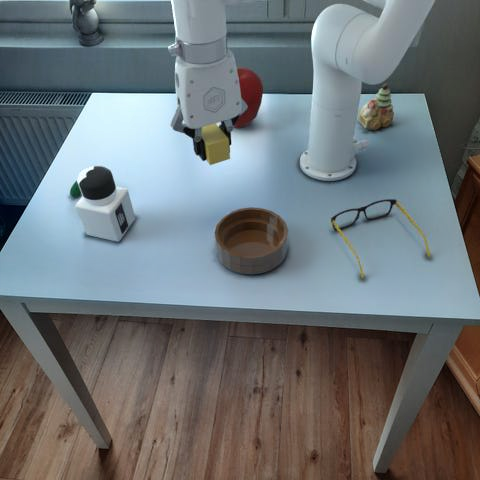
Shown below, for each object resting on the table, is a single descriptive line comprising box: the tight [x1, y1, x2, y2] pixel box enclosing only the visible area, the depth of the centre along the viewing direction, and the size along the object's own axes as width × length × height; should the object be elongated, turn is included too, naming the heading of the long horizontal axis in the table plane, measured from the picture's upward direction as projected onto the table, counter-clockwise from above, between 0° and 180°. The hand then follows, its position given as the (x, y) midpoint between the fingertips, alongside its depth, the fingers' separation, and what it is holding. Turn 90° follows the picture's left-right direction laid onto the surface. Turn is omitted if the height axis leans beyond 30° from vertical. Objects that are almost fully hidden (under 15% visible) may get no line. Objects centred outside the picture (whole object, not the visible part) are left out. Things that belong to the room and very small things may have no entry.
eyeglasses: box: [330, 198, 431, 279], centre depth 90 cm, size 14×14×4 cm
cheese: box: [202, 123, 231, 166], centre depth 84 cm, size 4×6×4 cm, turn 26°
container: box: [74, 165, 136, 243], centre depth 92 cm, size 8×8×13 cm
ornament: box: [358, 83, 395, 131], centre depth 112 cm, size 8×6×10 cm
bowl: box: [214, 206, 289, 275], centre depth 90 cm, size 14×14×5 cm
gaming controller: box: [69, 170, 83, 198], centre depth 103 cm, size 9×4×6 cm
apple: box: [233, 66, 264, 129], centre depth 114 cm, size 12×12×13 cm
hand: (213, 152), depth 86 cm, fingers closed on cheese, 4 cm apart
